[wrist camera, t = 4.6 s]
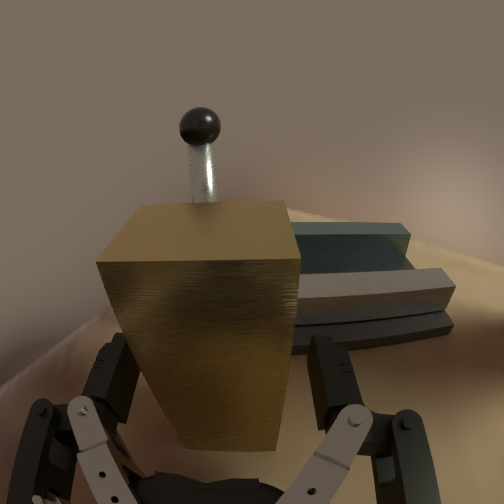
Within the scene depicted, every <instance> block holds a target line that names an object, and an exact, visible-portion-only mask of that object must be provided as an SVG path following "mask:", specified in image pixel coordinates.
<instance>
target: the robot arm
mask: <svg viewBox="0 0 504 504" xmlns="http://www.w3.org/2000/svg"><path fill="white" fill-rule="evenodd" d="M307 366H308V373H309V378H310V384H311V390H312V396H313V402H314V408H315V414H316V420H317V426H318V431H319V430H325V433H326V436H325V438H324V439H323V441H322V442H321V444H320V445H319V447H318V448H317V450H316V451H315V453H314V454H313V455H312V457H311V458H310V459H309V461H308V462H307V464H306V465H305V466H304V468H303V469H302V470H301V472H300V473H299V475H298V476H297V477H296V479H295V480H294V481H293V482H292V484H291V485H290V486H289V488H288V489H287V490H286V491H285V493H284V492H283V491H282V490H280V489H278V488H276V487H274V486H271V485H268V484H265V483H260V482H259V478H258V479H227V480H222V481H216V482H210V483H203V482H199V481H196V480H193V479H190V478H187V477H184V476H181V475H178V474H170V473H163V472H157V471H155V474H154V476H149V477H145V476H144V474H143V473H142V471H141V470H140V468H139V467H138V466H137V465H136V464H135V462H134V461H133V459H132V457H131V455H130V454H129V452H128V450H127V448H126V446H125V444H124V442H123V440H122V438H121V436H120V434H119V432H118V430H117V424H118V422H119V423H124V424H126V422H127V418H128V414H129V410H130V406H131V403H132V399H133V395H134V391H135V388H136V384H137V381H138V377H139V374H140V368H139V366H138V364H137V362H136V360H135V358H134V356H133V354H132V351H131V349H130V347H129V345H128V343H127V341H126V338H125V336H124V334H123V333H115V334H114V336H113V339H112V341H111V343H106V344H105V345H104V346H103V347H102V348H101V349H100V350H99V353H98V355H97V357H96V361H95V362H94V365H93V368H92V369H91V372H90V374H89V377H88V379H87V382H86V384H85V387H84V390H83V392H82V394H81V396H78V397H75V398H74V399H72V400H71V402H70V403H69V404H62V405H53V404H52V403H51V402H50V401H49V400H47V399H39V400H37V401H35V402H34V403H33V405H32V407H31V409H30V412H29V415H28V418H27V421H26V424H25V427H24V430H23V433H22V437H21V440H20V444H19V447H18V451H17V455H16V459H15V463H14V467H13V471H12V476H11V481H10V486H9V492H8V498H7V504H71V503H70V498H71V491H72V484H73V478H74V473H75V467H76V462H77V458H78V461H79V463H80V466H81V468H82V471H83V473H84V475H85V478H86V480H87V482H88V484H89V487H90V489H91V491H92V493H93V495H94V497H95V499H96V501H97V503H98V504H328V503H329V502H330V500H331V499H332V497H333V496H334V494H335V493H336V491H337V490H338V488H339V487H340V485H341V484H342V482H343V480H344V479H345V477H346V475H347V473H348V471H349V467H350V465H351V463H352V462H353V460H354V458H355V456H356V455H366V456H371V461H372V468H373V475H374V483H375V491H376V500H377V504H441V501H440V495H439V489H438V484H437V479H436V474H435V469H434V465H433V460H432V456H431V452H430V448H429V444H428V440H427V436H426V432H425V429H424V425H423V421H422V419H421V417H420V415H419V414H418V413H417V412H415V411H413V410H408V409H406V410H401V411H399V412H398V413H397V414H396V415H386V414H378V413H374V412H372V411H370V410H369V409H368V408H367V407H366V406H365V405H364V403H363V401H362V398H361V395H360V391H359V387H358V384H357V381H356V377H355V374H354V372H353V371H354V370H353V367H352V365H351V361H350V357H349V354H348V352H347V351H346V350H345V349H344V347H343V346H342V345H341V344H339V345H333V344H332V340H331V337H330V334H315V335H312V336H311V341H310V346H309V351H308V357H307Z"/></svg>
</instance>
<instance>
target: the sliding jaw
mask: <svg viewBox="0 0 504 504" xmlns="http://www.w3.org/2000/svg"><path fill="white" fill-rule="evenodd" d="M220 129H221V124H220V120H219V117H218V116H217V114H216V113H215V112H213V111H212V110H210V109H208V108H204V107H198V108H194V109H191V110H189V111H188V112H187V113H186V114H185V115H184V116H183V117H182V119H181V121H180V125H179V130H180V135H181V137H182V138H183V140H184V141H185V142H186V143H187V144H188V145H187V147H188V159H189V171H190V182H191V192H192V202H193V203H205V202H218V191H217V178H216V177H217V176H216V159H215V142H214V141H215V140H216V138H217V137H218V136H219V133H220ZM455 288H456V285H455V284H454V283H453V281H452V280H451V279H450V278H449V277H448V275H447V274H446V273H445V272H444V271H443V269H442V268H430V269H414V270H395V271H375V272H353V273H327V274H300V279H299V289H298V299H297V308H296V317H295V325H308V324H324V323H337V322H350V321H361V320H371V319H380V318H389V317H397V316H405V315H413V314H420V313H427V312H434V311H440V310H446V308H447V306H448V303H449V301H450V299H451V297H452V295H453V292H454V290H455Z"/></svg>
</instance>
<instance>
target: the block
mask: <svg viewBox="0 0 504 504" xmlns="http://www.w3.org/2000/svg"><path fill="white" fill-rule="evenodd" d="M96 264H97V267H98V270H99V272H100V275H101V278H102V281H103V284H104V287H105V290H106V292H107V295H108V298H109V300H110V303H111V305H112V308H113V310H114V313H115V315H116V318H117V320H118V322H119V325H120V327H121V329H122V332H123V334H124V336H125V338H126V341H127V343H128V345H129V347H130V349H131V351H132V354H133V356H134V358H135V360H136V362H137V364H138V366H139V368H140V370H141V372H142V374H143V376H144V378H145V379H146V381H147V383H148V385H149V387H150V389H151V391H152V392H153V394H154V396H155V398H156V400H157V401H158V403H159V405H160V407H161V408H162V410H163V412H164V413H165V415H166V417H167V418H168V420H169V422H170V423H171V425H172V426H173V428H174V430H175V431H176V433H177V434H178V436H179V437H180V439H181V440H182V442H183V443H184V445H185V446H186V448H187V449H195V450H209V451H238V452H250V451H276V446H277V441H278V435H279V429H280V424H281V418H282V412H283V405H284V399H285V392H286V386H287V379H288V372H289V365H290V357H291V350H292V342H293V334H294V326H295V317H296V308H297V299H298V289H299V279H300V268H301V255H300V252H299V249H298V245H297V242H296V239H295V235H294V232H293V229H292V225H291V222H290V219H289V216H288V213H287V209H286V206H285V203H284V201H237V202H236V201H234V202H205V203H184V204H166V205H151V206H141V207H140V208H139V209H138V210H137V211H136V212H135V213H134V215H133V216H132V217H131V218H130V219H129V221H128V222H127V223H126V224H125V225H124V227H123V228H122V229H121V230H120V231H119V233H118V234H117V235H116V237H115V238H114V239H113V240H112V241H111V243H110V244H109V245H108V246H107V248H106V249H105V250H104V252H103V253H102V254H101V255H100V257H99V258H98V259H97V261H96Z"/></svg>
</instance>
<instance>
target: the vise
mask: <svg viewBox="0 0 504 504" xmlns="http://www.w3.org/2000/svg"><path fill="white" fill-rule="evenodd" d="M291 225H292V229H293V232H294V235H295V239H296V242H297V245H298V249H299V252H300V255H301V268H300V274H327V273H353V272H375V271H395V270H414V269H415V268H414V267H413V266H412V264H411V263H410V262H409V261H408V259H407V258H406V257H405V255H406V252H407V248H408V244H409V240H410V236H411V234H410V233H409V232H408V231H407V230H406V229H405V228H404V227H403V226H402V224H401V223H366V222H363V223H362V222H361V223H360V222H291ZM453 326H454V323H453V322H452V320H451V319H450V317H449V316H448V314H447V313H446V311H445V310H440V311H434V312H427V313H420V314H413V315H405V316H397V317H389V318H380V319H371V320H361V321H350V322H337V323H324V324H308V325H295V326H294V334H293V342H292V350H291V355H301V354H308V351H309V346H310V341H311V336H312V335H315V334H330V337H331V340H332V344H333V345H339V344H341V345H342V346H343V347H344V349H345V350H346V351H347V350H356V349H364V348H372V347H379V346H386V345H392V344H399V343H405V342H410V341H416V340H421V339H426V338H431V337H436V336H441V335H446V334H449V333H450V331H451V330H452V328H453Z"/></svg>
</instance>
